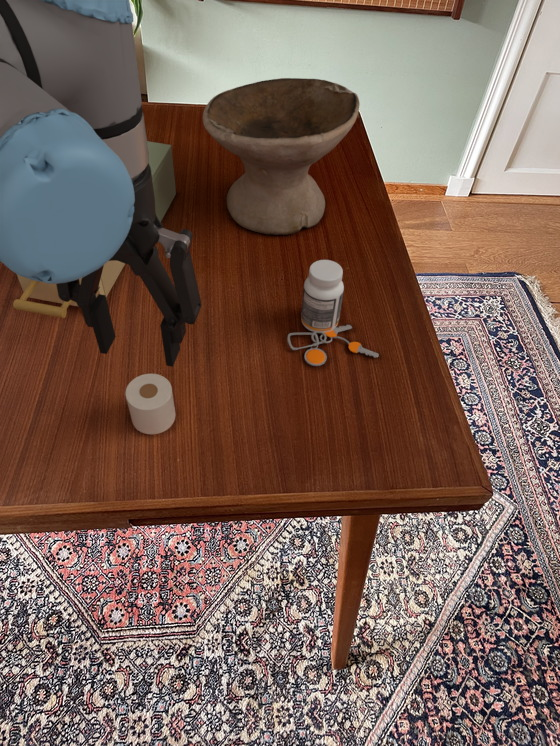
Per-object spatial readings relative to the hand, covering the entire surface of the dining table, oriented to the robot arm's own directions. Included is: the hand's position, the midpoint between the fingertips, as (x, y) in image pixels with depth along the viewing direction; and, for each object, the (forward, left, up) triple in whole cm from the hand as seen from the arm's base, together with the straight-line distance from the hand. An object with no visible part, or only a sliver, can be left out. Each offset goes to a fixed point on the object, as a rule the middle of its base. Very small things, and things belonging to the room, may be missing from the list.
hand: (140, 350), depth 65 cm
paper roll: (0, 0, -13) cm, 13 cm away
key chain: (+19, +20, -13) cm, 31 cm away
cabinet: (-23, +37, -13) cm, 45 cm away
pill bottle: (+16, +24, -13) cm, 32 cm away
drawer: (-21, +19, -12) cm, 31 cm away
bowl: (+1, +50, -13) cm, 52 cm away
